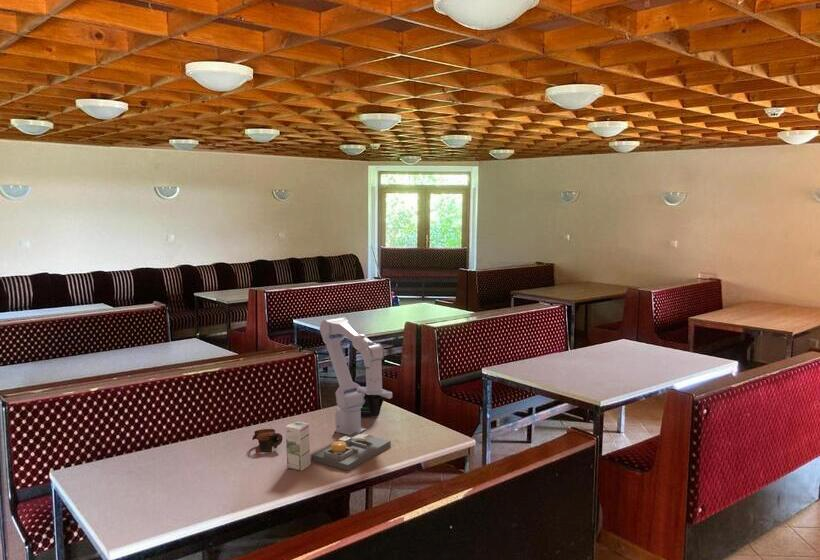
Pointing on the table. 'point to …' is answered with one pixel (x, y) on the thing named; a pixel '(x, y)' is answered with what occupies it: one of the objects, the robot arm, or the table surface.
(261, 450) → the pottery mug
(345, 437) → the pale beige block
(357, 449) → the control panel
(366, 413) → the storage jar
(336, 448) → the push button
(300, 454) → the syrup box
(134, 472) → the table surface
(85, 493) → the table surface
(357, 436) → the plate
